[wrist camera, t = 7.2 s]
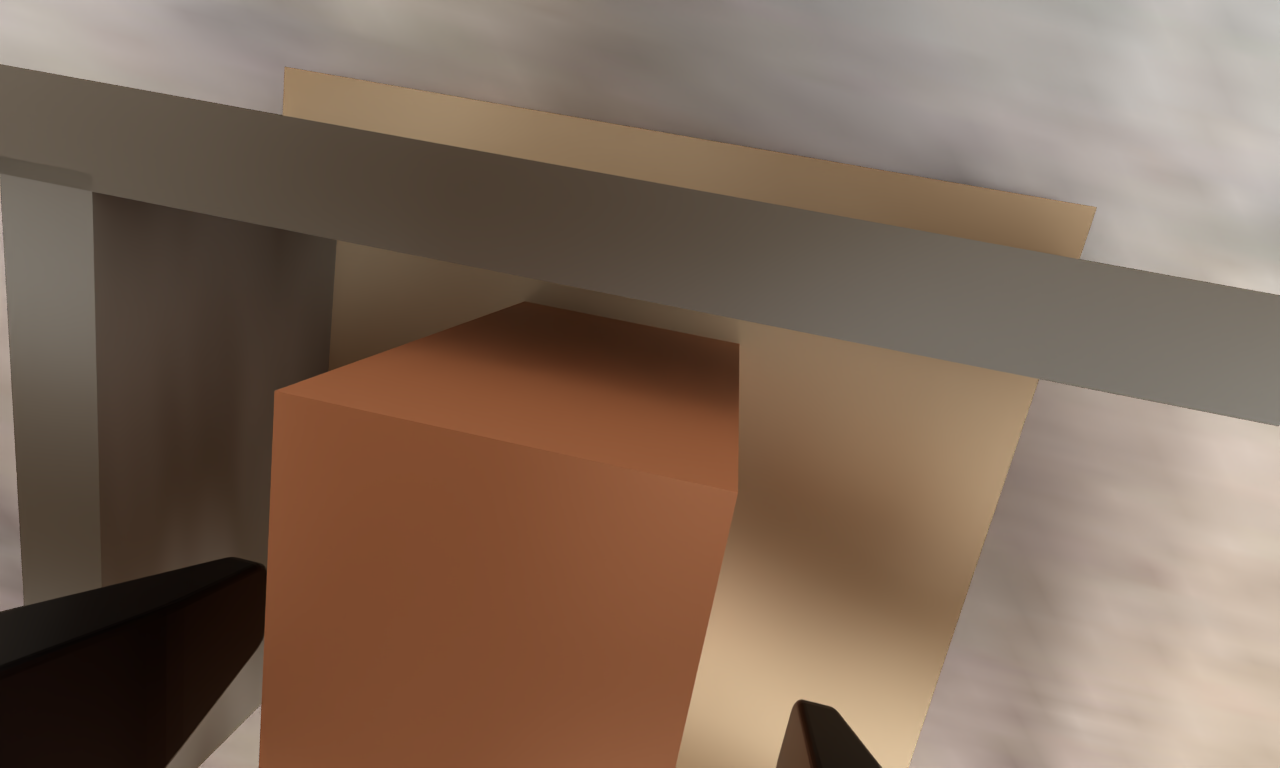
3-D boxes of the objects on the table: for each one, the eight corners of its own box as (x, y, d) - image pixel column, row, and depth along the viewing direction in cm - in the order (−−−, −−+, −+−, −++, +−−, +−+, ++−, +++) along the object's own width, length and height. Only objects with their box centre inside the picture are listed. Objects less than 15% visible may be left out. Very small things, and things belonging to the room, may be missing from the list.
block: (739, 343, 12) (736, 491, 5) (672, 654, 14) (607, 1066, 7) (524, 300, 13) (273, 391, 6) (483, 608, 14) (250, 958, 7)
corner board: (871, 799, 15) (954, 1169, 9) (291, 648, 17) (40, 886, 11) (1061, 208, 12) (1379, 193, 6) (324, 80, 13) (-13, -36, 7)
